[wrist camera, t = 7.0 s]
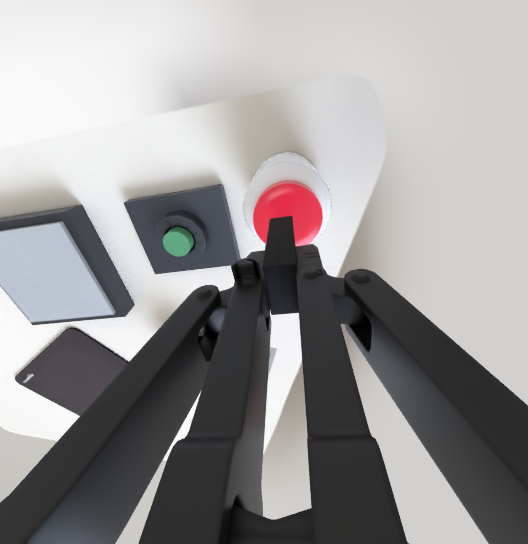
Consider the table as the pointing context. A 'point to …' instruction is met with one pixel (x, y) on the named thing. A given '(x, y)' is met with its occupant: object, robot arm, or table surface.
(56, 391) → the mouse pad
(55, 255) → the scale
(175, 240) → the green button
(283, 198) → the pill bottle
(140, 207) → the button base
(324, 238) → the table surface
